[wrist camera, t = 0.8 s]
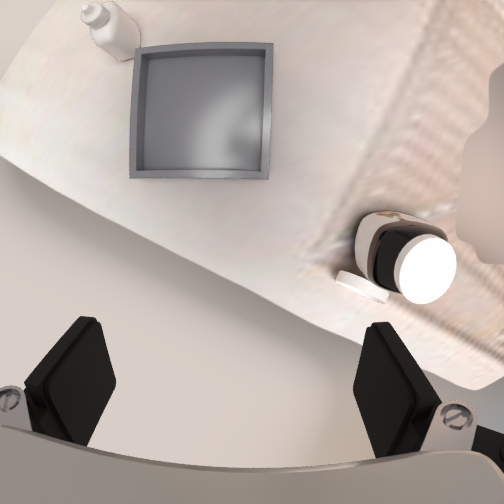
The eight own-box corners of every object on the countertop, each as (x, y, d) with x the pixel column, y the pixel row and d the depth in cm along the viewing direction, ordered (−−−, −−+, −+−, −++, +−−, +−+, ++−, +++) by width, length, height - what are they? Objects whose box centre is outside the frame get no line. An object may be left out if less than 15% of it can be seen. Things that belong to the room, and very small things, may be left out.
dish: (145, 56, 31) (135, 48, 28) (271, 52, 31) (273, 43, 28) (140, 175, 36) (129, 178, 32) (266, 177, 36) (268, 179, 32)
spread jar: (422, 212, 37) (474, 236, 26) (407, 292, 40) (448, 335, 29) (336, 205, 37) (371, 228, 26) (327, 292, 40) (351, 342, 29)
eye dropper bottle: (105, 57, 31) (55, 31, 19) (124, 20, 29) (82, -18, 18) (133, 64, 31) (88, 35, 20) (152, 25, 30) (116, -15, 18)
